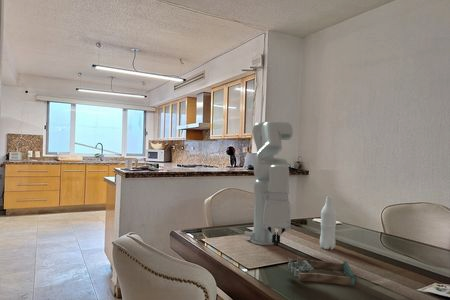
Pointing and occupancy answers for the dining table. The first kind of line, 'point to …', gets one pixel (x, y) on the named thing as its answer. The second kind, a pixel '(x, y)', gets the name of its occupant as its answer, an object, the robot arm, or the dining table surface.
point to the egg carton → (303, 267)
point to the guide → (325, 277)
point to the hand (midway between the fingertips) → (275, 244)
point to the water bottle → (328, 224)
